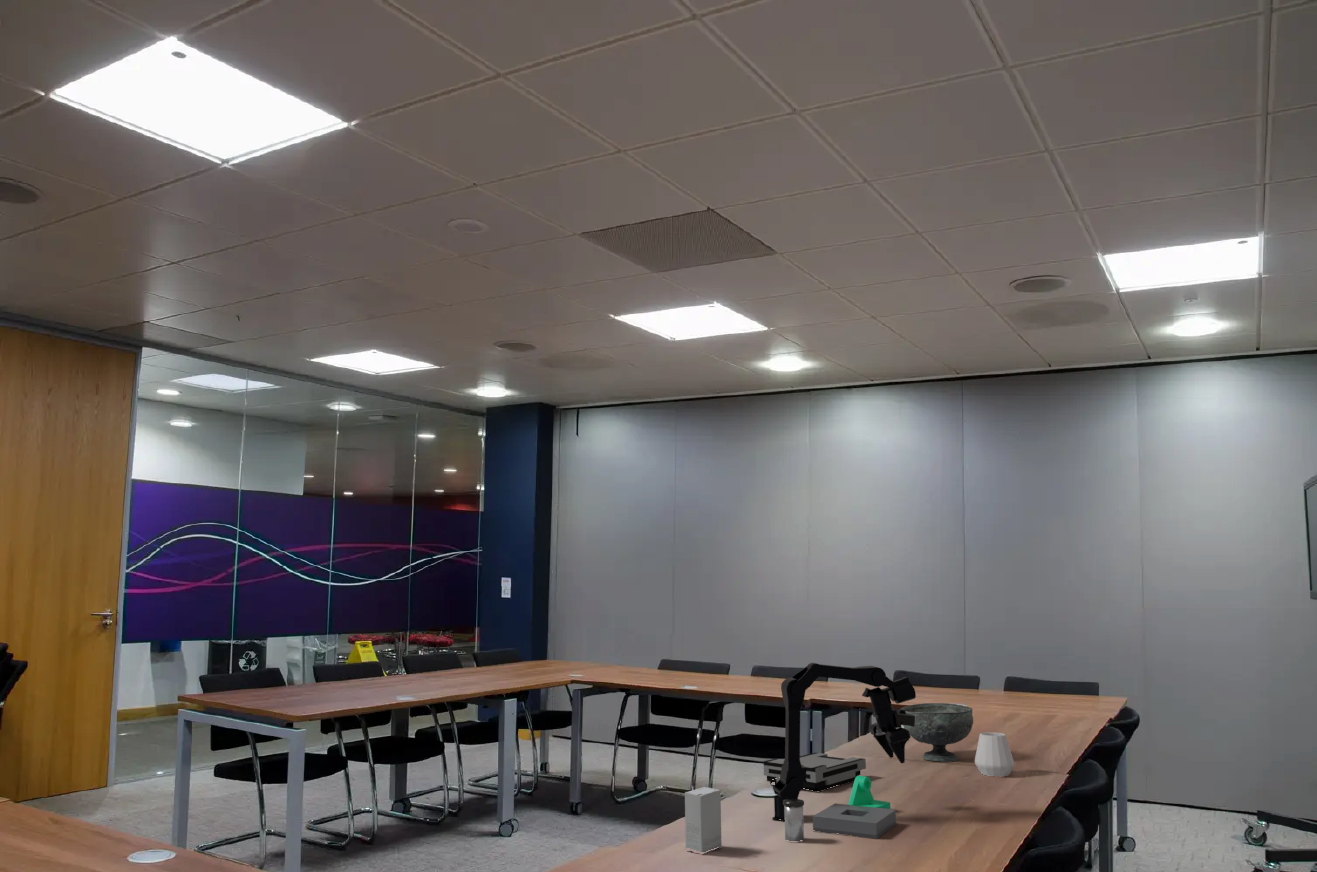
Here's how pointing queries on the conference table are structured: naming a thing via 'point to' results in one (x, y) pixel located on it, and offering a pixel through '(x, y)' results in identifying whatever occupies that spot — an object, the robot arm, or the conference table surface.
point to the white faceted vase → (994, 755)
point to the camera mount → (865, 794)
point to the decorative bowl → (939, 727)
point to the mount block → (855, 820)
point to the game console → (820, 770)
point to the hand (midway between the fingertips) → (897, 760)
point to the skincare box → (703, 819)
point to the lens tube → (794, 819)
